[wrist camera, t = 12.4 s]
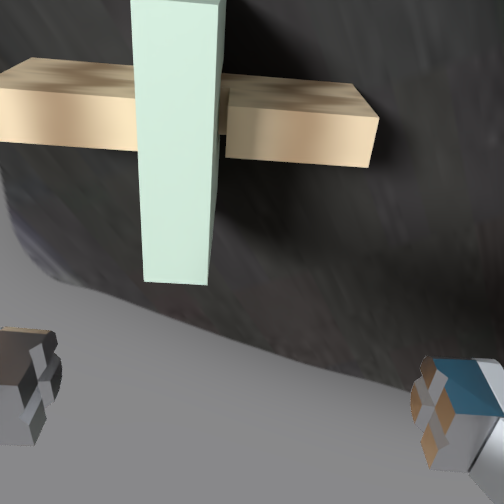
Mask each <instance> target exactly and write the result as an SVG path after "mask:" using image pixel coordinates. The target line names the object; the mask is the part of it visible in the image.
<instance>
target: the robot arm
mask: <svg viewBox="0 0 504 504" xmlns="http://www.w3.org/2000/svg"><path fill="white" fill-rule="evenodd" d="M57 345H58V343H57V339H56V335H55V333H54V332H53V331H49V330H38V329H27V328H15V327H0V445H17V446H34V445H35V443H36V441H37V439H38V437H39V435H40V433H41V430H42V428H43V426H44V424H45V422H46V419H47V418H46V414H45V408H46V407H48V406H49V405H51V404H52V403H53V402H54V401H55V399H56V397H57V395H58V392H59V389H60V385H61V380H62V363H61V359H60V358H59V357H58V356H57V355H56V354H55V353H54V350H55V349H56V347H57ZM420 370H421V373H422V377H421V378H419V379H418V380H416V381H415V382H414V384H413V387H412V390H411V397H410V407H411V414H412V417H413V421H414V424H415V425H416V426H417V427H418V428H419V429H420V430H421V431H422V432H423V433H424V434H423V437H422V439H421V441H420V443H421V446H422V449H423V452H424V455H425V458H426V461H427V464H428V467H429V469H430V470H440V471H450V472H462V473H469V476H470V477H471V478H472V479H473V481H474V482H475V483H476V484H477V485H478V486H479V487H480V488H481V490H482V491H483V492H484V493H485V494H486V495H487V496H488V498H489V499H490V500H491V501H492V502H493V503H494V504H504V370H503V368H502V366H501V364H500V363H499V362H498V361H496V360H495V359H481V358H471V359H470V358H460V357H443V356H426V357H425V358H424V359H423V361H422V363H421V366H420Z"/></svg>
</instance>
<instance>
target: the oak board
mask: <svg viewBox="0 0 504 504" xmlns="http://www.w3.org/2000/svg"><path fill="white" fill-rule="evenodd" d="M378 122H379V117H378V115H377V114H376V113H375V112H374V110H373V109H372V108H371V107H370V105H369V104H368V103H367V102H366V101H365V99H364V98H363V97H362V96H361V94H360V93H359V92H358V91H357V89H356V88H355V87H354V86H353V84H349V83H337V82H325V81H313V80H300V79H288V78H276V77H264V76H252V75H239V74H227V73H221V87H220V109H219V131H218V134H221V135H227V137H226V155H225V158H239V159H253V160H267V161H281V162H295V163H309V164H323V165H337V166H351V167H365V168H368V166H369V162H370V157H371V153H372V148H373V144H374V140H375V135H376V131H377V126H378ZM0 141H2V142H16V143H30V144H44V145H58V146H72V147H86V148H100V149H113V150H127V151H138V146H137V125H136V104H135V83H134V66H129V65H117V64H105V63H93V62H81V61H68V60H56V59H44V58H30V59H28V60H26V61H24V62H22V63H20V64H18V65H16V66H14V67H12V68H10V69H9V70H7V71H5V72H3V73H1V74H0Z"/></svg>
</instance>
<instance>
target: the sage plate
mask: <svg viewBox="0 0 504 504" xmlns="http://www.w3.org/2000/svg"><path fill="white" fill-rule="evenodd" d="M225 19H226V0H131V20H132V41H133V62H134V83H135V104H136V125H137V146H138V166H139V187H140V208H141V229H142V250H143V271H144V282H162V283H180V284H198V285H207V283H208V273H209V263H210V254H211V244H212V235H213V225H214V216H215V206H216V197H217V187H218V166H219V145H220V134H218V131H219V109H220V87H221V72H222V66H223V60H224V40H225Z"/></svg>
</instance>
